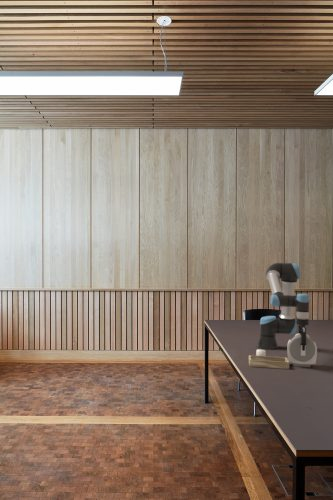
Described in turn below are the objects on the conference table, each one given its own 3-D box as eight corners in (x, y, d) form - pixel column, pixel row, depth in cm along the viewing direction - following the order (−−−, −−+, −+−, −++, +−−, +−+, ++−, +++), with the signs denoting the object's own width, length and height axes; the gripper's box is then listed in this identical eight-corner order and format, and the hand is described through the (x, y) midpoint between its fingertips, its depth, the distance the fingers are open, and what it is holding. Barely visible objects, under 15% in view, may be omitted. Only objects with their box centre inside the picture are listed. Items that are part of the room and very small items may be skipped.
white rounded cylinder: (255, 359, 285) (256, 349, 286) (265, 360, 285) (265, 349, 285) (256, 361, 280) (256, 351, 280) (265, 362, 279) (266, 351, 279)
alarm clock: (316, 365, 274) (316, 333, 274) (316, 368, 266) (317, 335, 266) (286, 362, 279) (287, 331, 279) (286, 365, 271) (287, 333, 271)
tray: (248, 361, 280) (248, 355, 280) (286, 363, 276) (286, 357, 276) (249, 366, 267) (249, 360, 267) (289, 368, 263) (289, 362, 263)
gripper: (293, 315, 284) (293, 349, 284) (299, 320, 262) (298, 357, 262) (305, 316, 283) (304, 350, 283) (311, 321, 261) (311, 358, 261)
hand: (301, 353), depth 272 cm, fingers closed on alarm clock, 9 cm apart
